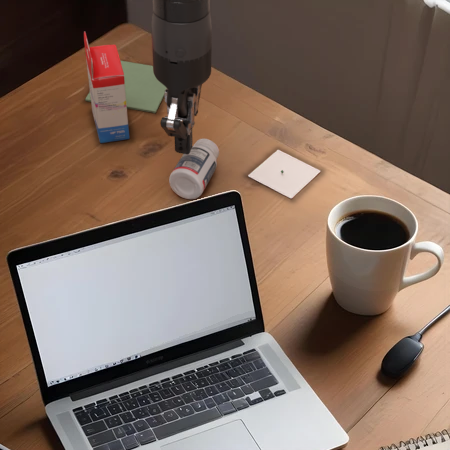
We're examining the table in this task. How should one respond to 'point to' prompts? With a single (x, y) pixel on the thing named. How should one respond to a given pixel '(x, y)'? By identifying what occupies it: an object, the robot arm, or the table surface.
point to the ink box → (107, 92)
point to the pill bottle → (195, 169)
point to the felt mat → (141, 87)
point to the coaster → (284, 173)
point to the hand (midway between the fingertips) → (183, 150)
